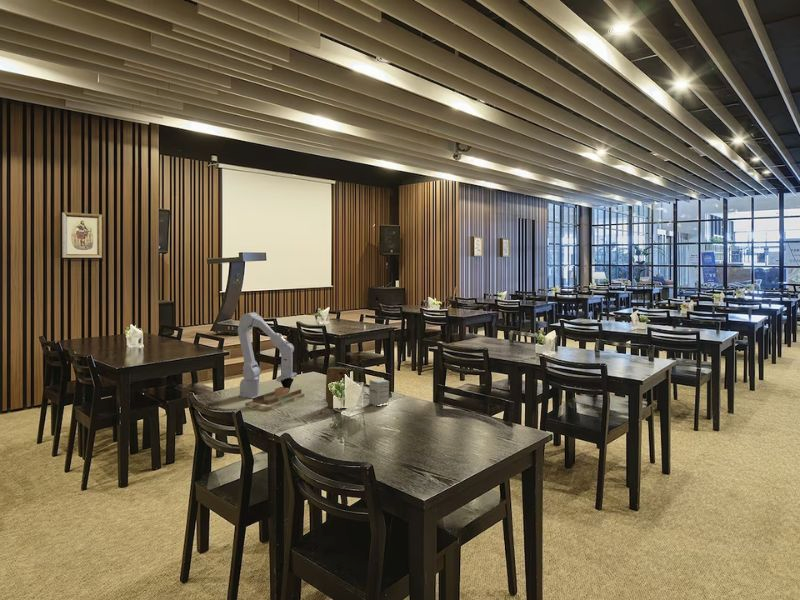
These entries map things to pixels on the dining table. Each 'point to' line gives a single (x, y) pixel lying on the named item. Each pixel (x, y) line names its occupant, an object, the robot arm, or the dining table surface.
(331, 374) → the block
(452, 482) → the dining table surface
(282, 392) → the block terracotta
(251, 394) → the robot arm
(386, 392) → the supplement box
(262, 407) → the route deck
